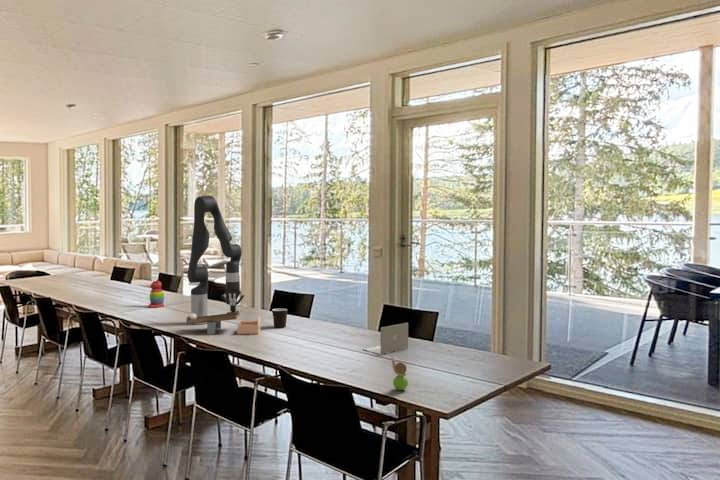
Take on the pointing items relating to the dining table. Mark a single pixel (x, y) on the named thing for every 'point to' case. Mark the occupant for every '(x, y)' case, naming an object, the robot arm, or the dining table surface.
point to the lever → (214, 318)
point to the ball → (192, 316)
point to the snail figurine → (399, 375)
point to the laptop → (392, 339)
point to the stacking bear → (156, 295)
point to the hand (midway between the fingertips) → (233, 312)
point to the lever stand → (213, 327)
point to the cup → (249, 327)
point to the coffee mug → (279, 317)
